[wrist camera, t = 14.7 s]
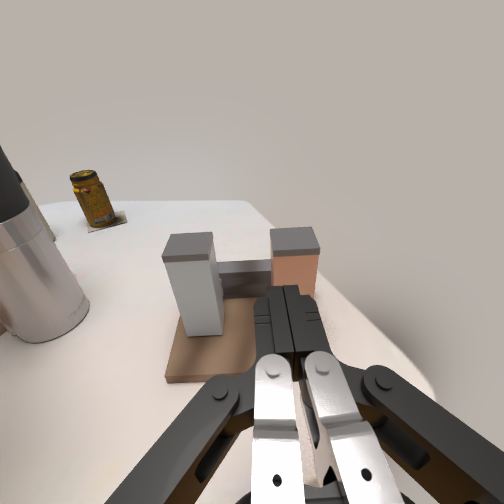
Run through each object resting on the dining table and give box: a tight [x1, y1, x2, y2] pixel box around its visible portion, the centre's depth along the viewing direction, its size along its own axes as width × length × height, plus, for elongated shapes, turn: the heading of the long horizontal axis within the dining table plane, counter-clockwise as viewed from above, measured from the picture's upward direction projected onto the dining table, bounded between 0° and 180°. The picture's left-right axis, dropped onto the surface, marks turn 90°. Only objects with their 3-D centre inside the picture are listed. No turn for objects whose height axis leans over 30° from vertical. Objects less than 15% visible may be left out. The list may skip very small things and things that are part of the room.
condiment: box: [70, 170, 127, 232], centre depth 61 cm, size 7×8×12 cm
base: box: [165, 259, 314, 383], centre depth 34 cm, size 19×14×6 cm
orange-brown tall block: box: [270, 227, 320, 299], centre depth 31 cm, size 5×4×13 cm
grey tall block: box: [162, 232, 225, 337], centre depth 32 cm, size 5×4×13 cm
